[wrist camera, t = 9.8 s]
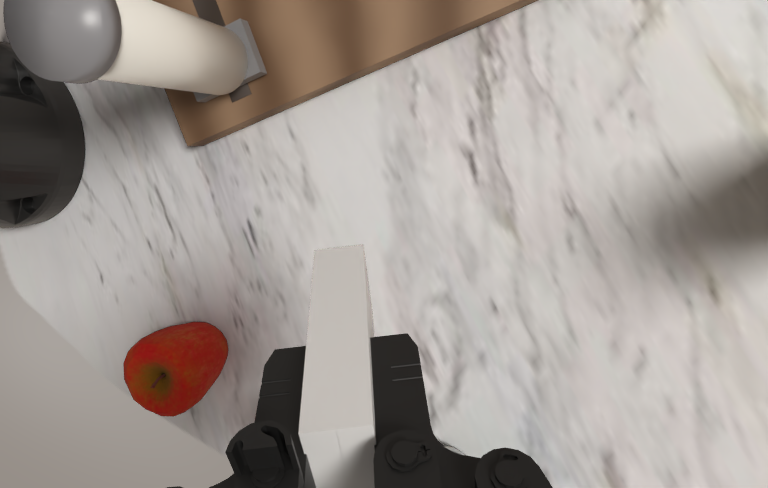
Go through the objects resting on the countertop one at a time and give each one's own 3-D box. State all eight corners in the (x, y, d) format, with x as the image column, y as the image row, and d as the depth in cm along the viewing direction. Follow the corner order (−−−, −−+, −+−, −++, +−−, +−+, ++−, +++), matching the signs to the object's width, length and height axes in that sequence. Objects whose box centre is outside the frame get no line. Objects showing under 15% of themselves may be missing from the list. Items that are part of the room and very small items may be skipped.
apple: (164, 348, 45) (99, 388, 38) (195, 294, 43) (132, 326, 36) (221, 392, 44) (166, 441, 37) (254, 339, 42) (203, 381, 35)
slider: (208, 111, 37) (32, 99, 23) (181, 42, 36) (-16, -11, 23) (271, 83, 35) (120, 52, 22) (243, 11, 35) (71, -67, 21)
